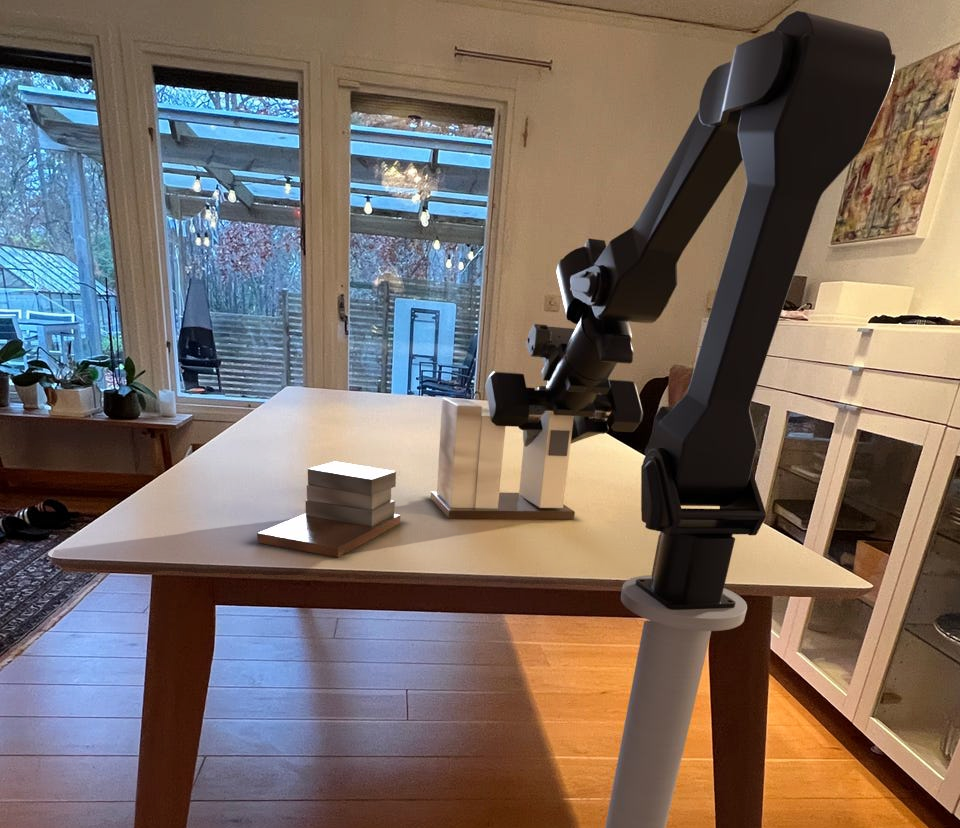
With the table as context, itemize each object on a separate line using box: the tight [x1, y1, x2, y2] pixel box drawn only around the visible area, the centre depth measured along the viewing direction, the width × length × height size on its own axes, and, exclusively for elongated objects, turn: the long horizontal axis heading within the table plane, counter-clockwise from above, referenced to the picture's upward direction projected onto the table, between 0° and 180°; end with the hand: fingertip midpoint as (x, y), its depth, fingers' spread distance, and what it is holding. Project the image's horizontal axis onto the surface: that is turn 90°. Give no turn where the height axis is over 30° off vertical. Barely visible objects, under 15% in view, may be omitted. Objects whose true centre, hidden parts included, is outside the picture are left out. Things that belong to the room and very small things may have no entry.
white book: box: [518, 412, 574, 508], centre depth 92 cm, size 8×3×12 cm, turn 16°
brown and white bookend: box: [430, 397, 576, 520], centre depth 91 cm, size 10×16×13 cm, turn 106°
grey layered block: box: [256, 461, 401, 558], centre depth 76 cm, size 9×15×6 cm, turn 162°
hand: (541, 443), depth 93 cm, fingers closed on white book, 4 cm apart
